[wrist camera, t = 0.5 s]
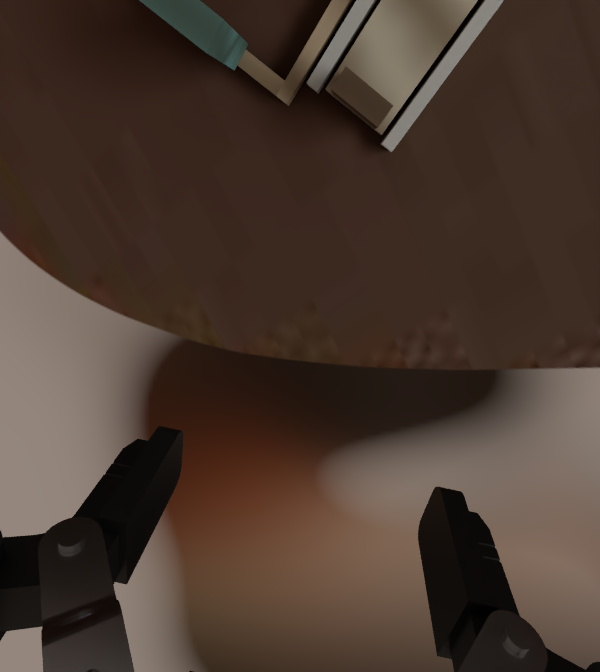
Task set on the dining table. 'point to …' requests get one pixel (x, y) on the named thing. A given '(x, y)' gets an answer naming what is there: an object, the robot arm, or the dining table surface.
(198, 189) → the dining table surface
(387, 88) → the plain strip
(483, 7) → the lane rails
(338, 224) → the dining table surface
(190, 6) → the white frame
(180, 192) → the dining table surface
